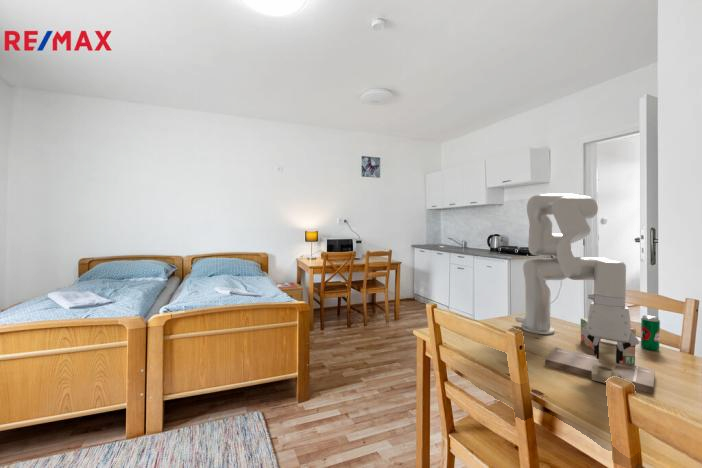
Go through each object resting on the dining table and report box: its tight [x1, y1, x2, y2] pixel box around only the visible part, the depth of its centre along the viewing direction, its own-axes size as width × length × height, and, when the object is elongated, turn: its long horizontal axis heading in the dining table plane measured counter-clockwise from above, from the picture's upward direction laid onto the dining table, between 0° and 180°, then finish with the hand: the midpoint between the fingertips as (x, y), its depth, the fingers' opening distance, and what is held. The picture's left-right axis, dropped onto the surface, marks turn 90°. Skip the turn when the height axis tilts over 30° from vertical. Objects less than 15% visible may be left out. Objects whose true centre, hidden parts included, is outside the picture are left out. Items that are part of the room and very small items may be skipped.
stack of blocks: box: [580, 317, 637, 366], centre depth 116 cm, size 21×6×12 cm, turn 170°
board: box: [545, 347, 656, 395], centre depth 102 cm, size 26×14×2 cm, turn 45°
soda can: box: [640, 314, 661, 352], centre depth 118 cm, size 5×5×12 cm
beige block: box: [591, 339, 619, 384], centre depth 98 cm, size 6×15×10 cm, turn 135°
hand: (608, 359), depth 98 cm, fingers closed on beige block, 4 cm apart
